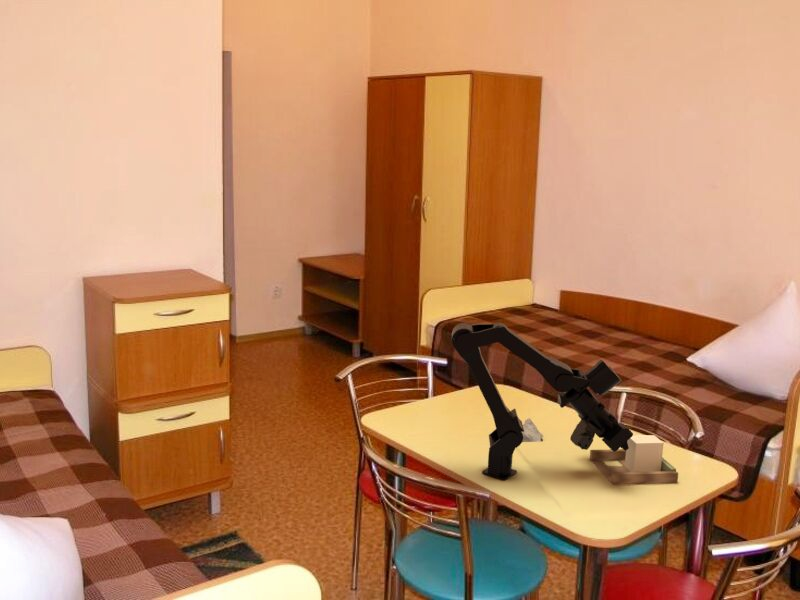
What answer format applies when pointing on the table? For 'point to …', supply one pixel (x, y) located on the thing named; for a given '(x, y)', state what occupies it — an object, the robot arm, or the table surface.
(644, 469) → the cream block
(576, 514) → the table surface
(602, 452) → the tray
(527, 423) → the stone
